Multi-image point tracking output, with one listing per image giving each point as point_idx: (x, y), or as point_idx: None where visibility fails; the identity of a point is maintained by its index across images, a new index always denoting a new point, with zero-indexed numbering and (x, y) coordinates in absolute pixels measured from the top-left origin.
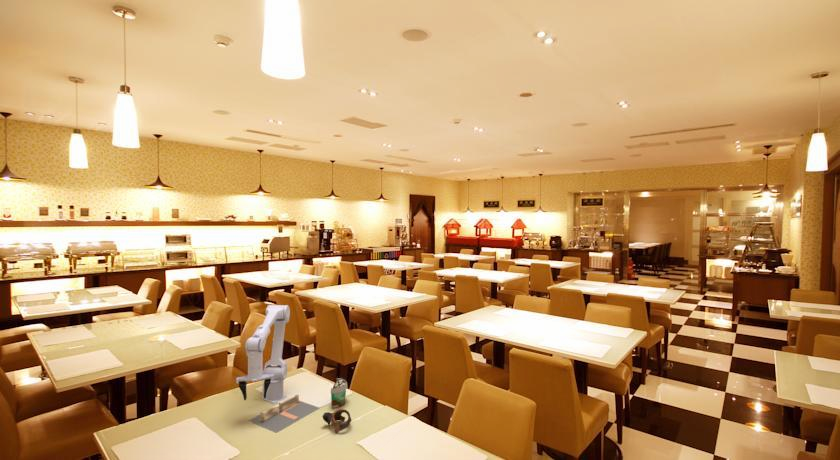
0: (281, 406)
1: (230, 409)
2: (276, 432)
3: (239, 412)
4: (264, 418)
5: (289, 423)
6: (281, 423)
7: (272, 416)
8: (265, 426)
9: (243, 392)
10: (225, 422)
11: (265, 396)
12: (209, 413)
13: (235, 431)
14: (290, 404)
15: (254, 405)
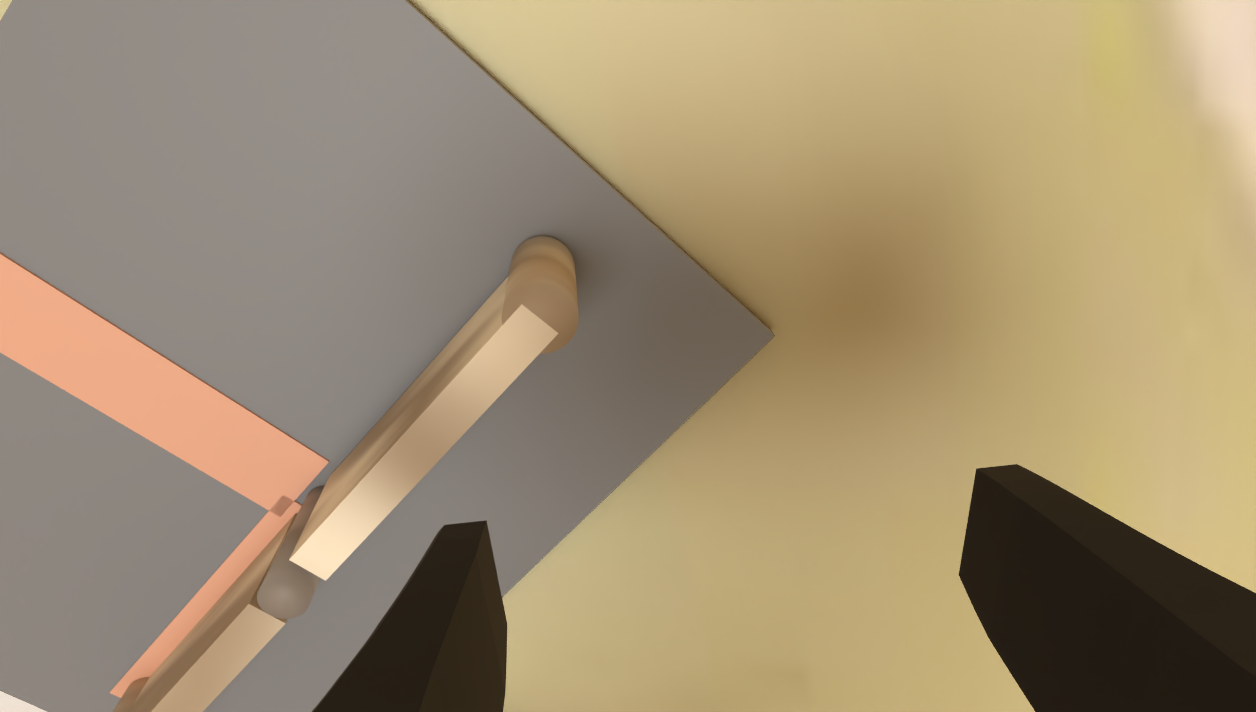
0: (275, 558)
1: None
2: None
3: (902, 572)
4: (505, 291)
5: (20, 120)
6: (179, 145)
7: (409, 388)
8: (446, 89)
9: (1244, 612)
10: (1068, 353)
11: (427, 552)
12: None
13: (922, 52)
14: (191, 642)
15: (737, 703)
